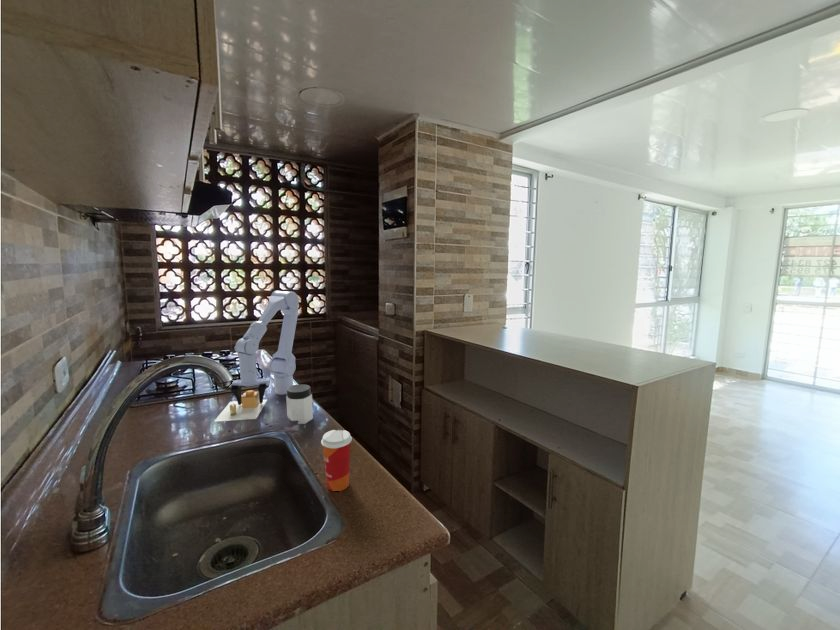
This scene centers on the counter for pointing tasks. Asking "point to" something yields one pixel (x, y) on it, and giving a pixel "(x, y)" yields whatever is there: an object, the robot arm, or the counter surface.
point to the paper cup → (337, 458)
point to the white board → (240, 412)
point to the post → (233, 410)
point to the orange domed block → (250, 399)
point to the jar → (299, 403)
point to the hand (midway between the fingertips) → (250, 403)
